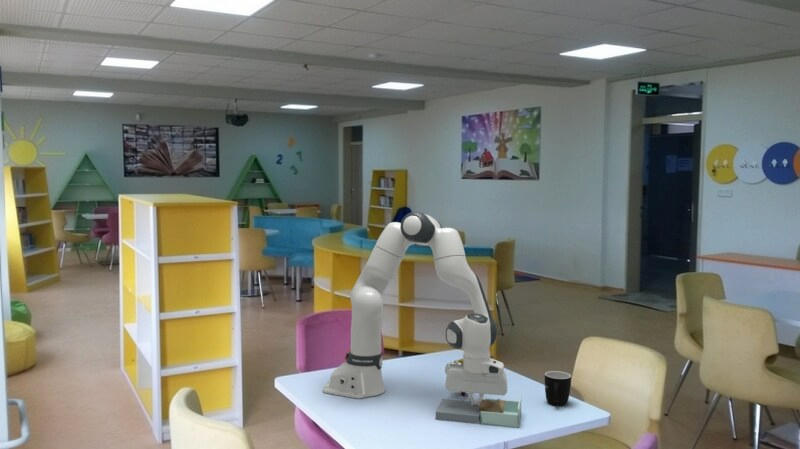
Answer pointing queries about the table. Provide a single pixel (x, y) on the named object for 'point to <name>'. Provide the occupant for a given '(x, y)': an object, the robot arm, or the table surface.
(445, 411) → the board
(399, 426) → the table surface
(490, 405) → the tile
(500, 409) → the tile
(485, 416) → the bin
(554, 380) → the mug
